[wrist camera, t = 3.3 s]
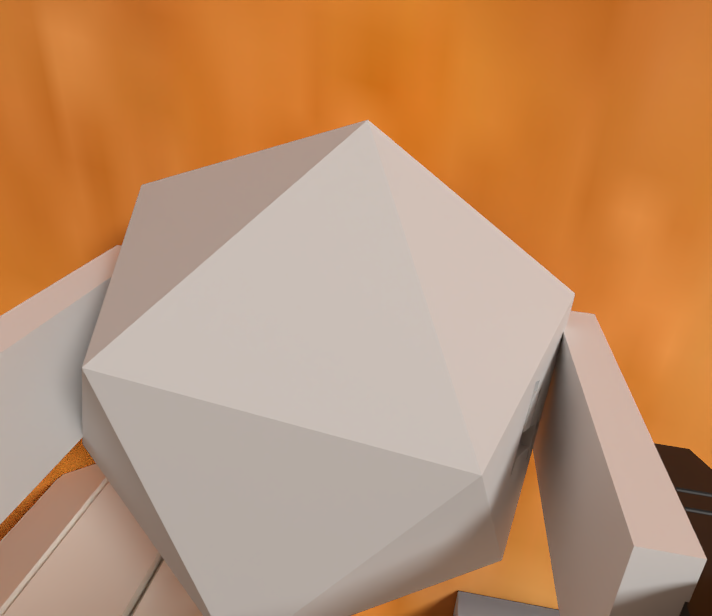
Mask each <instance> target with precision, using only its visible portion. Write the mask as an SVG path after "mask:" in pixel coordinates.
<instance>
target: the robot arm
mask: <svg viewBox="0 0 712 616" xmlns="http://www.w3.org/2000/svg"><path fill="white" fill-rule="evenodd" d="M121 247H122V246H121V245H116V246H115V247H113V248H111V249H110V250H108V251H106V252H105V253H103V254H102V255H100V256H98V257H97V258H95V259H93V260H92V261H90V262H88V263H87V264H85V265H83V266H82V267H80V268H79V269H77V270H75V271H74V272H72V273H70V274H69V275H67V276H65V277H64V278H62V279H60V280H59V281H57V282H56V283H54V284H52V285H51V286H49V287H47V288H46V289H44V290H42V291H41V292H39V293H37V294H36V295H34V296H33V297H31V298H29V299H28V300H26V301H24V302H23V303H21V304H19V305H18V306H16V307H15V308H13V309H11V310H10V311H8V312H6V313H5V314H3V315H1V316H0V524H1V523H2V522H3V521H4V520H5V519H6V518H7V517H8V516H9V515H10V513H11V512H12V511H13V510H14V509H15V508H16V507H17V506H18V505H19V504H20V503H21V502H22V501H23V500H24V499H25V498H26V497H27V496H28V494H29V493H30V492H31V491H32V490H33V489H34V488H35V487H36V486H37V485H38V484H39V483H40V482H41V481H42V480H43V479H44V478H45V476H46V475H47V474H48V473H49V472H50V471H51V470H52V469H53V468H54V467H55V466H56V465H57V464H58V463H59V462H60V461H61V460H62V459H63V457H64V456H65V455H66V454H67V453H68V452H69V451H70V450H71V449H72V448H73V447H74V446H75V445H76V444H77V443H78V442H79V441H80V439H81V438H82V437H83V434H82V366H83V363H84V359H85V356H86V353H87V350H88V347H89V344H90V341H91V338H92V335H93V332H94V329H95V326H96V323H97V320H98V317H99V314H100V311H101V308H102V305H103V302H104V298H105V295H106V292H107V289H108V286H109V283H110V280H111V277H112V274H113V271H114V268H115V265H116V262H117V259H118V256H119V253H120V250H121ZM533 453H534V459H535V465H536V472H537V478H538V484H539V490H540V496H541V502H542V509H543V515H544V521H545V527H546V533H547V539H548V546H549V552H550V558H551V564H552V570H553V576H554V583H555V589H556V595H557V601H558V607H559V613H560V616H712V469H711V468H710V467H708V466H707V465H706V464H705V463H704V462H703V461H702V460H701V459H700V458H698V457H697V456H696V455H695V454H694V453H693V452H692V451H691V450H690V449H685V448H679V447H673V446H667V445H661V444H655V443H653V440H652V438H651V436H650V434H649V432H648V430H647V427H646V425H645V423H644V421H643V419H642V416H641V414H640V412H639V410H638V408H637V406H636V403H635V401H634V399H633V397H632V395H631V393H630V390H629V388H628V386H627V384H626V382H625V379H624V377H623V375H622V373H621V371H620V369H619V366H618V364H617V362H616V360H615V358H614V356H613V353H612V351H611V349H610V347H609V345H608V343H607V340H606V338H605V336H604V334H603V332H602V329H601V327H600V325H599V323H598V321H597V319H596V316H595V314H590V313H583V312H576V311H570V314H569V318H568V322H567V325H566V328H565V329H564V331H563V335H562V339H561V344H560V348H559V352H558V357H557V361H556V365H555V369H554V373H553V376H552V380H551V383H550V387H549V391H548V394H547V398H546V402H545V405H544V409H543V412H542V416H541V420H540V423H539V427H538V431H537V434H536V438H535V442H534V445H533Z"/></svg>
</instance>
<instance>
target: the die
mask: <svg viewBox="0 0 712 616" xmlns="http://www.w3.org/2000/svg"><path fill="white" fill-rule="evenodd" d="M574 296H575V293H574V292H573V291H571V290H570V289H569V288H568V287H567V286H565V285H564V284H563V283H562V282H561V281H559V280H558V279H557V278H556V277H555V276H554V275H552V274H551V273H550V272H549V271H548V270H546V269H545V268H544V267H543V266H542V265H540V264H539V263H538V262H537V261H536V260H534V259H533V258H532V257H531V256H530V255H528V254H527V253H526V252H525V251H524V250H523V249H521V248H520V247H519V246H518V245H517V244H515V243H514V242H513V241H512V240H511V239H509V238H508V237H507V236H506V235H505V234H503V233H502V232H501V231H500V230H499V229H497V228H496V227H495V226H494V225H493V224H492V223H490V222H489V221H488V220H487V219H486V218H484V217H483V216H482V215H481V214H480V213H478V212H477V211H476V210H475V209H474V208H472V207H471V206H470V205H469V204H468V203H466V202H465V201H464V200H463V199H462V198H461V197H459V196H458V195H457V194H456V193H455V192H453V191H452V190H451V189H450V188H449V187H447V186H446V185H445V184H444V183H443V182H441V181H440V180H439V179H438V178H437V177H435V176H434V175H433V174H432V173H431V172H430V171H428V170H427V169H426V168H425V167H424V166H422V165H421V164H420V163H419V162H418V161H416V160H415V159H414V158H413V157H412V156H410V155H409V154H408V153H407V152H406V151H404V150H403V149H402V148H401V147H400V146H399V145H397V144H396V143H395V142H394V141H393V140H391V139H390V138H389V137H388V136H387V135H385V134H384V133H383V132H382V131H381V130H379V129H378V128H377V127H376V126H375V125H373V124H372V123H371V122H370V121H369V120H366V121H362V122H359V123H355V124H352V125H348V126H345V127H341V128H338V129H334V130H331V131H327V132H324V133H320V134H317V135H314V136H310V137H307V138H303V139H300V140H296V141H293V142H289V143H286V144H282V145H279V146H275V147H272V148H268V149H265V150H261V151H258V152H254V153H251V154H248V155H244V156H241V157H237V158H234V159H230V160H227V161H223V162H220V163H216V164H213V165H209V166H206V167H202V168H199V169H195V170H192V171H189V172H185V173H182V174H178V175H175V176H171V177H168V178H164V179H161V180H157V181H154V182H150V183H147V184H143V185H142V186H141V189H140V192H139V195H138V198H137V201H136V204H135V207H134V210H133V213H132V216H131V219H130V222H129V225H128V228H127V231H126V234H125V237H124V240H123V244H122V247H121V250H120V253H119V256H118V259H117V262H116V265H115V268H114V271H113V274H112V277H111V280H110V283H109V286H108V289H107V292H106V295H105V298H104V302H103V305H102V308H101V311H100V314H99V317H98V320H97V323H96V326H95V329H94V332H93V335H92V338H91V341H90V344H89V347H88V350H87V353H86V356H85V359H84V363H83V366H82V434H83V437H82V442H83V445H84V447H85V448H86V450H87V451H88V453H89V454H90V455H91V457H92V458H93V460H94V461H95V463H96V464H97V465H98V467H99V468H100V470H101V471H102V472H103V474H104V475H105V477H106V478H107V480H108V481H109V482H110V484H111V485H112V487H113V488H114V490H115V491H116V492H117V494H118V495H119V497H120V498H121V499H122V501H123V502H124V504H125V505H126V507H127V508H128V509H129V511H130V512H131V514H132V515H133V517H134V518H135V519H136V521H137V522H138V524H139V525H140V527H141V528H142V529H143V531H144V532H145V534H146V535H147V536H148V538H149V539H150V541H151V542H152V544H153V545H154V546H155V548H156V549H157V551H158V552H159V554H160V555H161V556H162V558H163V559H164V561H165V562H166V563H167V565H168V566H169V568H170V569H171V571H172V572H173V573H174V575H175V576H176V578H177V579H178V581H179V582H180V583H181V585H182V586H183V588H184V589H185V591H186V592H187V593H188V595H189V596H190V598H191V599H192V600H193V602H194V603H195V605H196V606H197V608H198V609H199V610H200V612H201V613H202V615H203V616H351V615H354V614H356V613H359V612H362V611H365V610H367V609H370V608H373V607H375V606H378V605H381V604H384V603H386V602H389V601H392V600H394V599H397V598H400V597H403V596H405V595H408V594H411V593H414V592H416V591H419V590H422V589H424V588H427V587H430V586H433V585H435V584H438V583H441V582H444V581H446V580H449V579H452V578H454V577H457V576H460V575H463V574H465V573H468V572H471V571H473V570H476V569H479V568H482V567H484V566H487V565H490V564H493V563H495V562H498V561H501V560H502V558H503V554H504V550H505V547H506V543H507V540H508V536H509V532H510V529H511V525H512V521H513V518H514V514H515V511H516V507H517V503H518V500H519V496H520V492H521V489H522V485H523V481H524V478H525V474H526V471H527V467H528V463H529V460H530V456H531V452H532V449H533V445H534V442H535V438H536V434H537V431H538V427H539V423H540V420H541V416H542V412H543V409H544V405H545V402H546V398H547V394H548V391H549V387H550V383H551V380H552V376H553V373H554V369H555V365H556V361H557V357H558V352H559V348H560V344H561V339H562V335H563V331H564V329H565V328H566V325H567V322H568V318H569V314H570V311H571V307H572V304H573V300H574Z"/></svg>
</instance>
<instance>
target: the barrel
mask: <svg viewBox="0 0 712 616" xmlns="http://www.w3.org/2000/svg"><path fill="white" fill-rule="evenodd" d="M0 616H203V615H202V613H201V612H200V610H199V609H198V608H197V606H196V605H195V603H194V602H193V600H192V599H191V598H190V596H189V595H188V593H187V592H186V591H185V589H184V588H183V586H182V585H181V583H180V582H179V581H178V579H177V578H176V576H175V575H174V573H173V572H172V571H171V569H170V568H169V566H168V565H167V563H166V562H165V561H164V559H163V558H162V556H161V555H160V554H159V552H158V551H157V549H156V548H155V546H154V545H153V544H152V542H151V541H150V539H149V538H148V536H147V535H146V534H145V532H144V531H143V529H142V528H141V527H140V525H139V524H138V522H137V521H136V519H135V518H134V517H133V515H132V514H131V512H130V511H129V509H128V508H127V507H126V505H125V504H124V502H123V501H122V499H121V498H120V497H119V495H118V494H117V492H116V491H115V490H114V488H113V487H112V485H111V484H110V482H109V481H108V480H107V478H106V477H105V475H104V474H103V472H102V471H101V470H100V468H99V467H98V465H97V464H93V465H90V466H87V467H84V468H81V469H78V470H75V471H72V472H69V473H66V474H63V475H62V476H61V477H60V478H58V479H57V480H56V481H55V482H54V483H53V484H52V485H51V486H50V488H49V489H48V490H47V491H46V492H45V493H44V494H43V495H42V496H41V497H40V499H39V500H38V501H37V502H36V503H35V504H34V505H33V506H32V507H31V508H30V509H29V511H28V512H27V513H26V514H25V515H24V516H23V517H22V518H21V519H20V520H19V522H18V523H17V524H16V525H15V526H14V527H13V528H12V529H11V530H10V531H9V532H8V534H7V535H6V536H5V537H4V538H3V539H2V540H1V541H0Z"/></svg>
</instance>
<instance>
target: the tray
mask: <svg viewBox="0 0 712 616" xmlns="http://www.w3.org/2000/svg"><path fill="white" fill-rule="evenodd" d="M453 616H560V613H559V610H555V609H550V608H545V607H540V606H535V605H529V604H524V603H519V602H514V601H509V600H503V599H498V598H493V597H488V596H482V595H477V594H472V593H467V592H462V591H458V594H457V599H456V603H455V608H454V613H453Z"/></svg>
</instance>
